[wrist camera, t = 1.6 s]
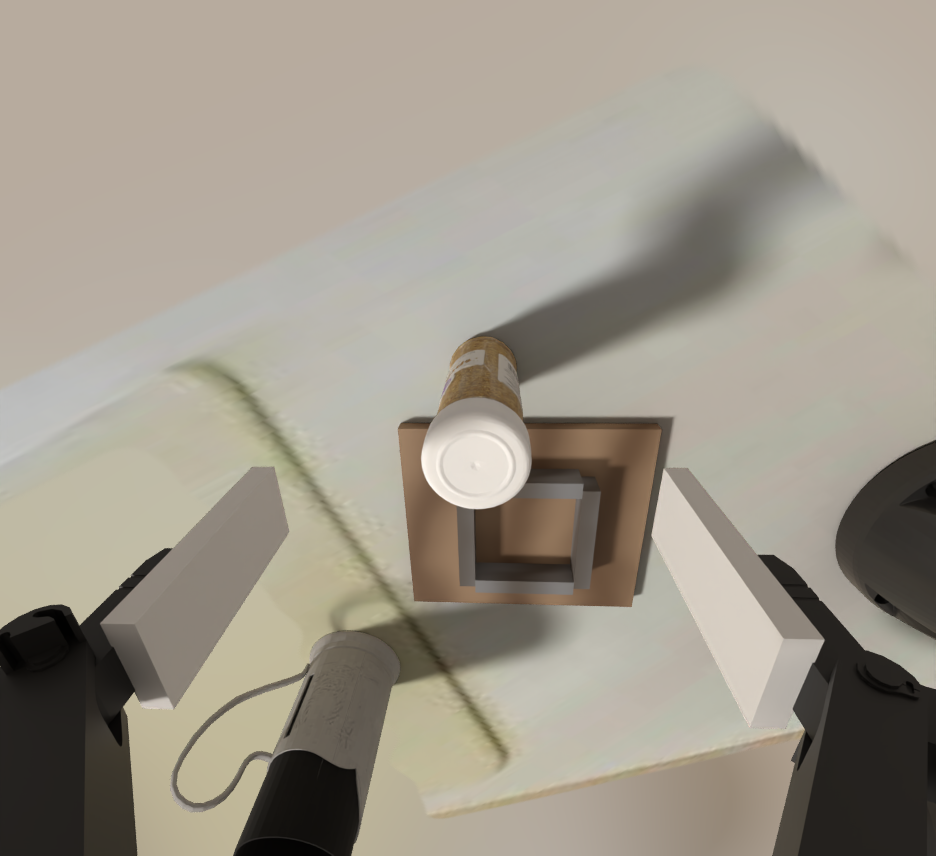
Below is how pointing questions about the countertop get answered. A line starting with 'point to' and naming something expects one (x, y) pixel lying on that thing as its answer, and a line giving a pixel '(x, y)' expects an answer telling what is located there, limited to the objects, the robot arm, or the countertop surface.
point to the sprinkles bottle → (478, 429)
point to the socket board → (538, 521)
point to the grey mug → (316, 752)
